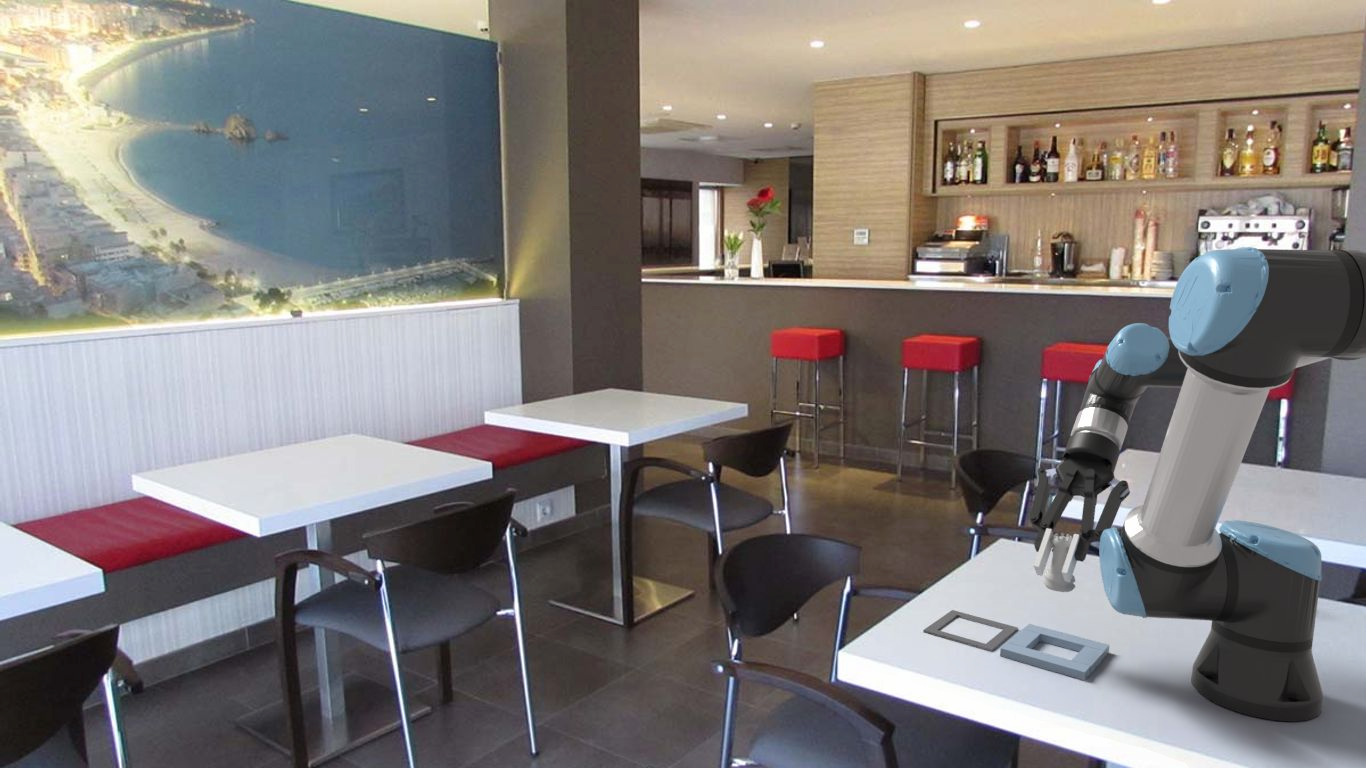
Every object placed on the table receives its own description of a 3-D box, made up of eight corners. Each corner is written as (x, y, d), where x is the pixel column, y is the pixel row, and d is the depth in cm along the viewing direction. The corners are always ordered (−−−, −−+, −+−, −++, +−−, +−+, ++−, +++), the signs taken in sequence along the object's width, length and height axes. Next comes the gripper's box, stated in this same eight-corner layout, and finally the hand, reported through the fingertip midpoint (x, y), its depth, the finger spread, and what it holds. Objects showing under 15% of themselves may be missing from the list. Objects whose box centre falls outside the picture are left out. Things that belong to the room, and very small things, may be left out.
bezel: (1018, 629, 147) (1018, 627, 146) (991, 651, 138) (991, 649, 138) (952, 611, 153) (952, 609, 153) (923, 631, 145) (923, 630, 145)
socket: (1109, 652, 138) (1109, 644, 138) (1084, 680, 129) (1085, 672, 129) (1028, 630, 146) (1028, 623, 146) (999, 655, 137) (1000, 648, 137)
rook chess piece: (1056, 594, 134) (1060, 541, 133) (1036, 583, 138) (1040, 531, 137) (1082, 591, 135) (1086, 538, 134) (1061, 580, 139) (1065, 529, 138)
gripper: (1154, 466, 141) (1115, 600, 130) (1046, 450, 151) (1001, 573, 141) (1149, 437, 136) (1107, 574, 126) (1037, 422, 146) (990, 548, 136)
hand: (1051, 573), depth 133 cm, fingers closed on rook chess piece, 3 cm apart
